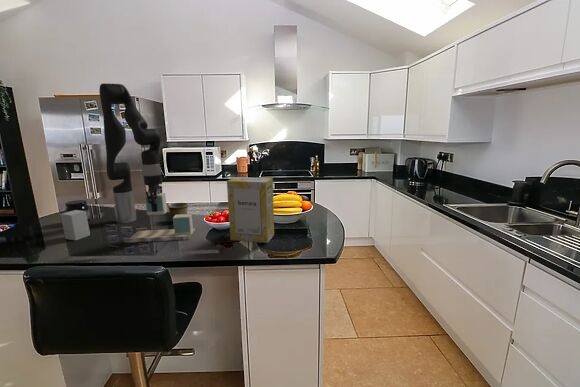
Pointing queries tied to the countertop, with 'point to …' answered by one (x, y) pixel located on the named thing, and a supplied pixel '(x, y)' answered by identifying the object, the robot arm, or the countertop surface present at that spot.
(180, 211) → the ceramic cup
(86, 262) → the countertop surface
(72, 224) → the supplement box
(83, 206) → the supplement container
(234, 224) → the pasta box
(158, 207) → the carton
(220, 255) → the countertop surface
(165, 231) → the shelf
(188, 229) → the faced carton
